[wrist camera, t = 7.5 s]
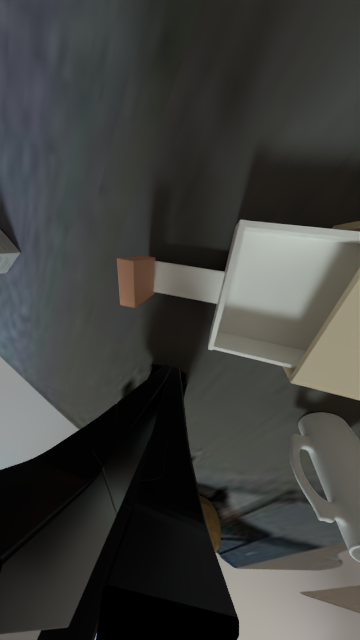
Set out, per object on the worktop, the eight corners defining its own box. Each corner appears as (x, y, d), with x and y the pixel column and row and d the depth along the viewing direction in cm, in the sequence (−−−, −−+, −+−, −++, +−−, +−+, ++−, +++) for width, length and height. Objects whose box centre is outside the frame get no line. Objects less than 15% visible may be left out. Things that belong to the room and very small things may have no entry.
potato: (170, 481, 48) (159, 530, 40) (220, 497, 44) (220, 554, 36) (173, 493, 51) (164, 540, 43) (220, 508, 47) (220, 563, 39)
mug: (359, 418, 22) (488, 578, 11) (334, 442, 25) (418, 587, 14) (282, 400, 24) (331, 523, 13) (268, 424, 27) (299, 540, 16)
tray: (144, 316, 22) (122, 336, 17) (145, 216, 16) (112, 203, 11) (334, 358, 18) (378, 400, 13) (421, 245, 12) (555, 244, 7)
